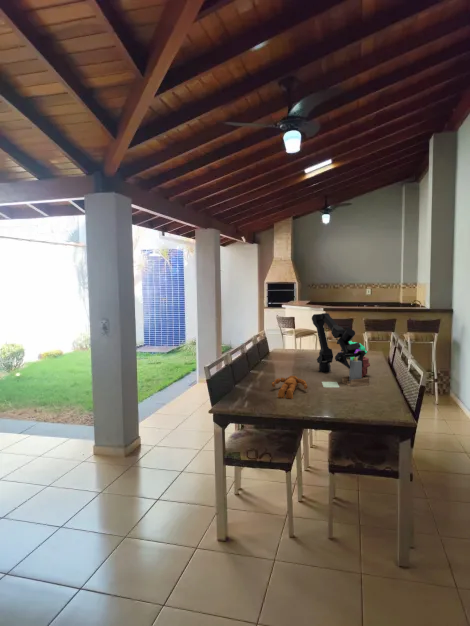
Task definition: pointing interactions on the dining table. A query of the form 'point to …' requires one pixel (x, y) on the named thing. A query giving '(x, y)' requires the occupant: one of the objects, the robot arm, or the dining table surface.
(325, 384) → the sage mat
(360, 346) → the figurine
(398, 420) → the dining table surface
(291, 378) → the toy
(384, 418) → the dining table surface
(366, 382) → the walnut rack
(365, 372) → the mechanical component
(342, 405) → the dining table surface
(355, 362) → the slate block
